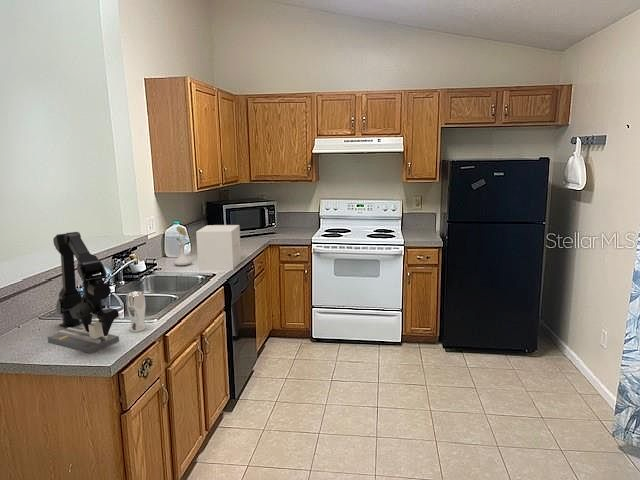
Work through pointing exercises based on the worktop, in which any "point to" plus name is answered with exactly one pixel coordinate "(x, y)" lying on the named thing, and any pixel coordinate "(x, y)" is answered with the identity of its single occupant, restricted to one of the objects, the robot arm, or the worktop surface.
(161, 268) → the worktop surface
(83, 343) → the fader console
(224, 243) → the cube
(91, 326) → the fader knob
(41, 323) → the worktop surface
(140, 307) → the beer glass
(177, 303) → the worktop surface
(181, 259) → the flower in vase
